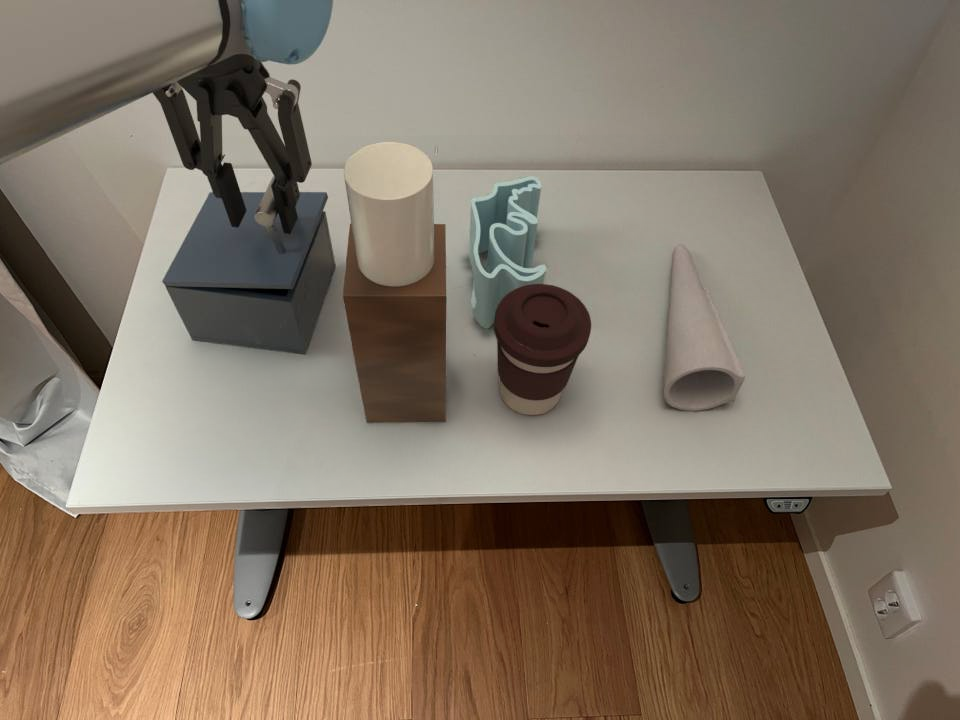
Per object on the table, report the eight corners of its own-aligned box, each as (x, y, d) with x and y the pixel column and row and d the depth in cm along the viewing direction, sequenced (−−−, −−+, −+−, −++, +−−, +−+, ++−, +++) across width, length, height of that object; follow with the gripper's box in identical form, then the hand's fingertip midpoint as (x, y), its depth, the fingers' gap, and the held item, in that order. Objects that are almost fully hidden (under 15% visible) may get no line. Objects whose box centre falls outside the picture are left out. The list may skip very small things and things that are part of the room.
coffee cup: (532, 343, 84) (547, 258, 72) (589, 396, 80) (614, 316, 68) (470, 384, 81) (475, 302, 68) (526, 442, 76) (542, 366, 64)
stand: (366, 423, 77) (342, 296, 59) (370, 358, 82) (349, 223, 64) (446, 422, 77) (446, 295, 60) (445, 357, 83) (445, 223, 65)
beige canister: (382, 298, 59) (372, 211, 51) (343, 249, 62) (327, 160, 54) (449, 266, 62) (450, 178, 53) (408, 220, 65) (403, 131, 57)
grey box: (336, 266, 90) (325, 211, 82) (305, 355, 82) (290, 302, 74) (232, 254, 91) (212, 197, 83) (192, 340, 83) (164, 286, 75)
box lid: (328, 197, 81) (310, 149, 75) (293, 289, 72) (270, 242, 67) (212, 197, 83) (187, 150, 78) (165, 286, 75) (133, 241, 69)
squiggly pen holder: (462, 231, 95) (464, 178, 88) (532, 228, 96) (539, 176, 89) (474, 333, 85) (477, 283, 77) (552, 329, 86) (563, 279, 78)
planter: (630, 223, 91) (672, 367, 74) (694, 222, 92) (751, 366, 74) (620, 267, 97) (657, 411, 80) (680, 267, 97) (730, 410, 80)
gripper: (322, -1, 58) (354, 208, 77) (115, -23, 58) (197, 189, 77) (297, 47, 53) (337, 256, 72) (73, 22, 54) (171, 235, 73)
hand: (264, 221), depth 75 cm, fingers open, 5 cm apart
